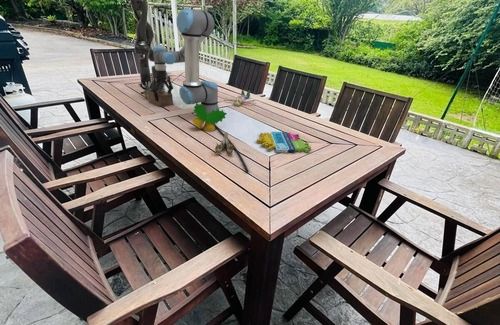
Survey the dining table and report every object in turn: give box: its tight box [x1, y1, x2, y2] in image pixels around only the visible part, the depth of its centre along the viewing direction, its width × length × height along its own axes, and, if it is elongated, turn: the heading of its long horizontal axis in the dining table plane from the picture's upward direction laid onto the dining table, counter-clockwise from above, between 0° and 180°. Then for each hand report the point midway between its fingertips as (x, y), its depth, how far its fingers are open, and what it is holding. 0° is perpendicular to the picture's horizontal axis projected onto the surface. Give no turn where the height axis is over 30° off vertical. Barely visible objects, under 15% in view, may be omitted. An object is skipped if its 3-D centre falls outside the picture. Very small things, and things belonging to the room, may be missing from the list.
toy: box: [223, 89, 257, 106], centre depth 219 cm, size 28×7×30 cm
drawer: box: [140, 89, 151, 100], centre depth 207 cm, size 20×9×6 cm, turn 50°
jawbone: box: [214, 131, 234, 156], centre depth 136 cm, size 9×15×10 cm
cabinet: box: [148, 90, 174, 108], centre depth 201 cm, size 16×10×8 cm, turn 50°
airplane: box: [150, 71, 175, 81], centre depth 272 cm, size 38×32×10 cm
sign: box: [256, 131, 312, 154], centre depth 152 cm, size 26×2×30 cm
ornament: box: [191, 102, 228, 132], centre depth 162 cm, size 21×8×15 cm, turn 105°
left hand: (147, 94), depth 212 cm, fingers closed
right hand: (163, 99), depth 200 cm, fingers closed on cabinet, 10 cm apart
